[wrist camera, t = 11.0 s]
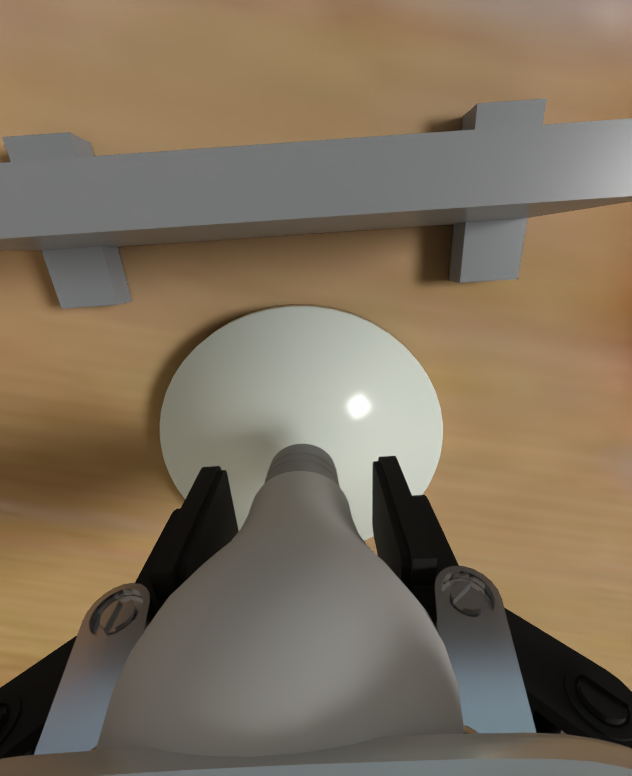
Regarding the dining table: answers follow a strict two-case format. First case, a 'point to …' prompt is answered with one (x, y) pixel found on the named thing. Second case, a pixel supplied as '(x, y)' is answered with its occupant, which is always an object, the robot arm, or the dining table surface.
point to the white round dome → (301, 404)
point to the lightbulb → (286, 639)
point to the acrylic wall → (308, 192)
